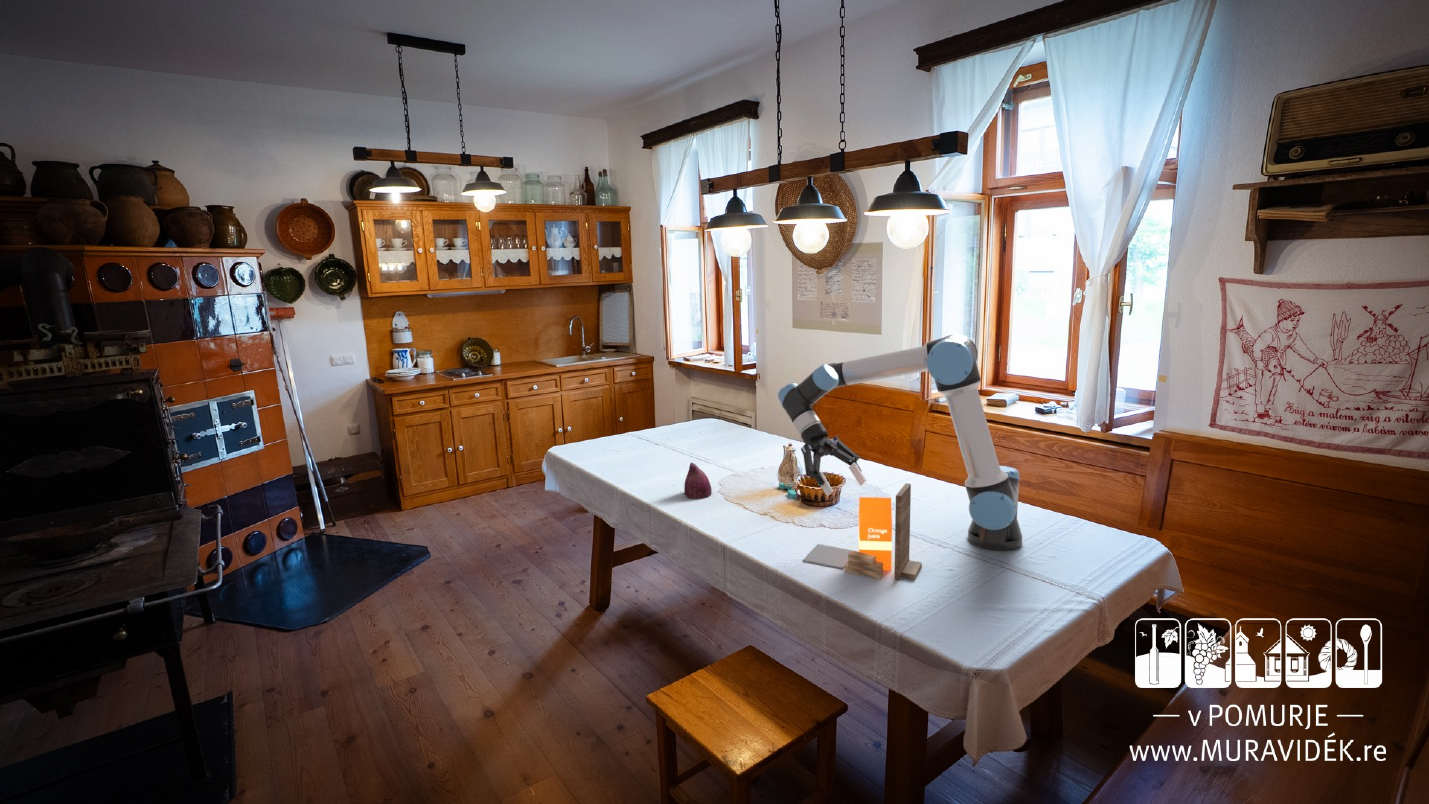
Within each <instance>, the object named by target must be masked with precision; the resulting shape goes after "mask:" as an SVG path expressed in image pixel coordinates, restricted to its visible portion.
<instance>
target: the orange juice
mask: <svg viewBox="0 0 1429 804" xmlns="http://www.w3.org/2000/svg"><path fill="white" fill-rule="evenodd" d="M858 499H859V500H858V501H859V503H858V529H857V530H858V552H862V553H866V554H871V555H875V556H876V561H878V562H883V571H892V557H893V556H892V553H893V552H892V550H893V515H892V497H873V496H871V497H870V496H868V497H867V496H864V497H863V496H859V498H858Z"/></svg>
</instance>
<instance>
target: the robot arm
mask: <svg viewBox="0 0 1429 804" xmlns="http://www.w3.org/2000/svg"><path fill="white" fill-rule="evenodd" d="M978 356H979V355H978V348H977V346H976V344H975V342H974V341H973V340H972V339H971V338H970V337H968V336H966V335H965V334H959V333H956V334H950V335H947V336H944V337H941V338H938V339H933V340H929V341H926V342H925V344H923V346H922V345H921V346H917V347H913V348H912V347H911V348H906V349H902V350H897V351H893V352H887V353H882V354H881V353H880V354H876V355H873V356H868V357H867V356H866V357H862V358H856V359H853V360H848V361H847V360H846V361H844V362H838V363H837V362H832V363H828V364H826V363H825V364H824V363H823V364H821V365H820V366H818V367H817V368H816V369H814V370H813V372H811V373H810V375H808V376H806V378H805V379H803V381H802V382H801V383H799V384H798V383H796V382H791V383H788V384H786V385H785V386H783V387H782V388H780V390H779V391H778V393H777V398H778V400H779V402H780V404H781V407H782V408H783V409H784V411H785V413H786V414H787V416H788V417H789V419H790V421H791V422H792V423H793V426H794V427H795V429H796V431H797V433H798V434H799V435H800V438H801V440H802V441H803V443H804V445H802V447H801V448H800V451H801V453H802V455H803V463H804V469H805V476H806V477H810V478H811V479H815V481H816V482H817V483H818V485H819V486H821V487H822V489H823V490H824V492H825V494H826V495H827V496H829V495H830V494H831V493H832V492H833V489H832V487H831V486H830V481H829V482H828V481H827V479H826V475H825V474H824V472H823V471H820V470H821V468H820V467H821V461H822V459H821V458H823V457H824V456H825V457H826V456H831V457H832V456H833V457H835V458H837V459H839V460H840V461H841V462H843V463H845V464H847V465H849V466H848V469H849V470H850V472H851V473H852V475H853V477H854V479H855V480H856V482H857V483H858V484H859V486H863V484H865V482H867V479H866V477H865V476H864V474H863V471H862V469H861V468H860V466H859V463H858V460H860V456H859V455H858V454H857V453H855V451H854V450H852V449H851V448H850V447H848V445H846V444H845V443H843V442H842V440H841V439H840V438H839V437H838V436H837V435H835V436H834V437H833V438H830V437H829V436H828V435H829V434H828V431H827V429H826V428H825V426H824V424H823V423H821V419H820V418H819V415H817V413H816V412H815V411H814V409H813V405H814V404H816V403H817V402H818V401H819V400H820V399H821V398H823V397H825V395H827V394H828V393H829V392H831V391H833V390H834V389H836V388H840V387H841V388H842V387H846V386H850V385H851V386H852V385H856V384H862V383H867V382H873V381H874V382H875V381H880V380H885V379H889V378H894V377H895V378H896V377H902V376H907V375H912V374H918V373H924V372H928V373H929V374H930V376H931V378H933V381H934V383H935V387H936V389H937V392H938V393H940V394H941V395H944V398H945V400H946V404H947V407H948V410H949V415H950V417H951V421H952V424H953V428H954V431H955V434H956V437H957V438H956V439H957V442H958V446H959V448H960V452H961V456H962V459H963V462H964V467H965V468H966V469H965V470H966V472H967V475H968V476H967V478H966V480H965V481H964V487H965V489H966V493H967V497H968V500H969V503H968V512H969V515H970V518H971V519H972V520H971V523H970V525H969V527H968V530H967V539H968V541H969V542H971V544H974V545H975V546H976V547H977V546H978V547H980V548H982V549H986V550H991V551H992V550H993V551H1012V550H1015V549H1019V548H1020V547H1022V545H1023V533H1022V530H1021V527H1020V524H1019V520H1018V509H1019V508H1018V507H1019V506H1018V505H1019V491H1020V490H1019V488H1020V486H1019V485H1020V480H1021V478H1020V472H1019V470H1018V469H1017V468H1014V467H1010V466H1007V465H1000V462H999V459H998V456H997V453H996V449H995V446H994V442H993V438H992V435H991V430H990V428H989V424H988V421H987V418H986V414H985V410H984V406H983V404H982V400H981V396H980V393H979V390H978V387H979V385H980V383H981V382H982V379H981V374H980V371H979V368H978V364H977V361H978ZM812 453H813V454H812Z"/></svg>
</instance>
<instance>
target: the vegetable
mask: <svg viewBox="0 0 1429 804" xmlns="http://www.w3.org/2000/svg"><path fill="white" fill-rule="evenodd" d="M683 489H684V490H683V491H684V496H685V497H686V498H687V499H689V500H690V499H691V500H702V499H706V498H709V497H711V496H712V491H713V490H712V486H711V483H710V480H709V478H708V476H707V475H706V473H705V472H704V471H703V470H702V469H701V468H700V467H699V466H698V465H697V464H696V463H694V462H690V464H689V467H688V471H687V474H686V477H685V480H684V488H683Z"/></svg>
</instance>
